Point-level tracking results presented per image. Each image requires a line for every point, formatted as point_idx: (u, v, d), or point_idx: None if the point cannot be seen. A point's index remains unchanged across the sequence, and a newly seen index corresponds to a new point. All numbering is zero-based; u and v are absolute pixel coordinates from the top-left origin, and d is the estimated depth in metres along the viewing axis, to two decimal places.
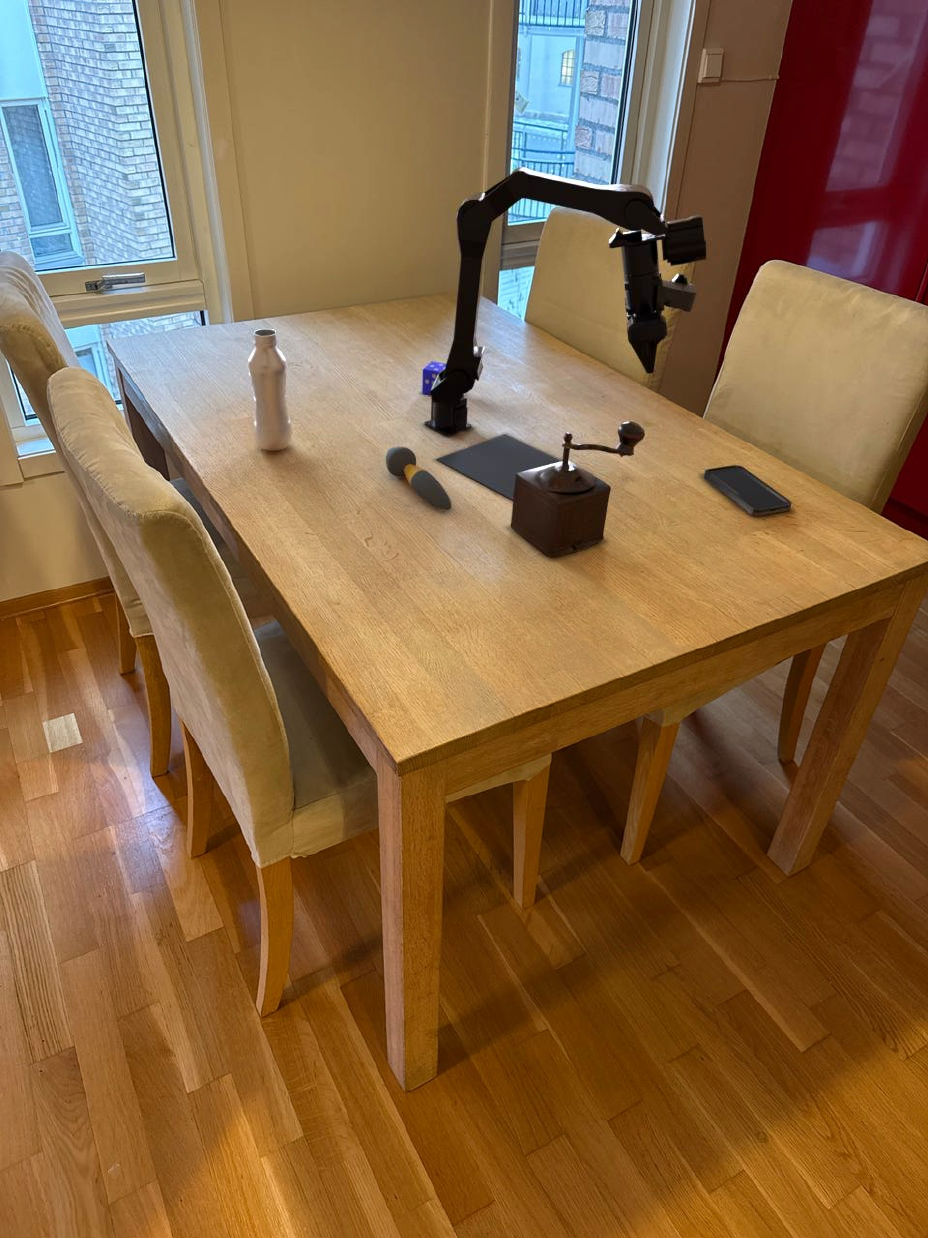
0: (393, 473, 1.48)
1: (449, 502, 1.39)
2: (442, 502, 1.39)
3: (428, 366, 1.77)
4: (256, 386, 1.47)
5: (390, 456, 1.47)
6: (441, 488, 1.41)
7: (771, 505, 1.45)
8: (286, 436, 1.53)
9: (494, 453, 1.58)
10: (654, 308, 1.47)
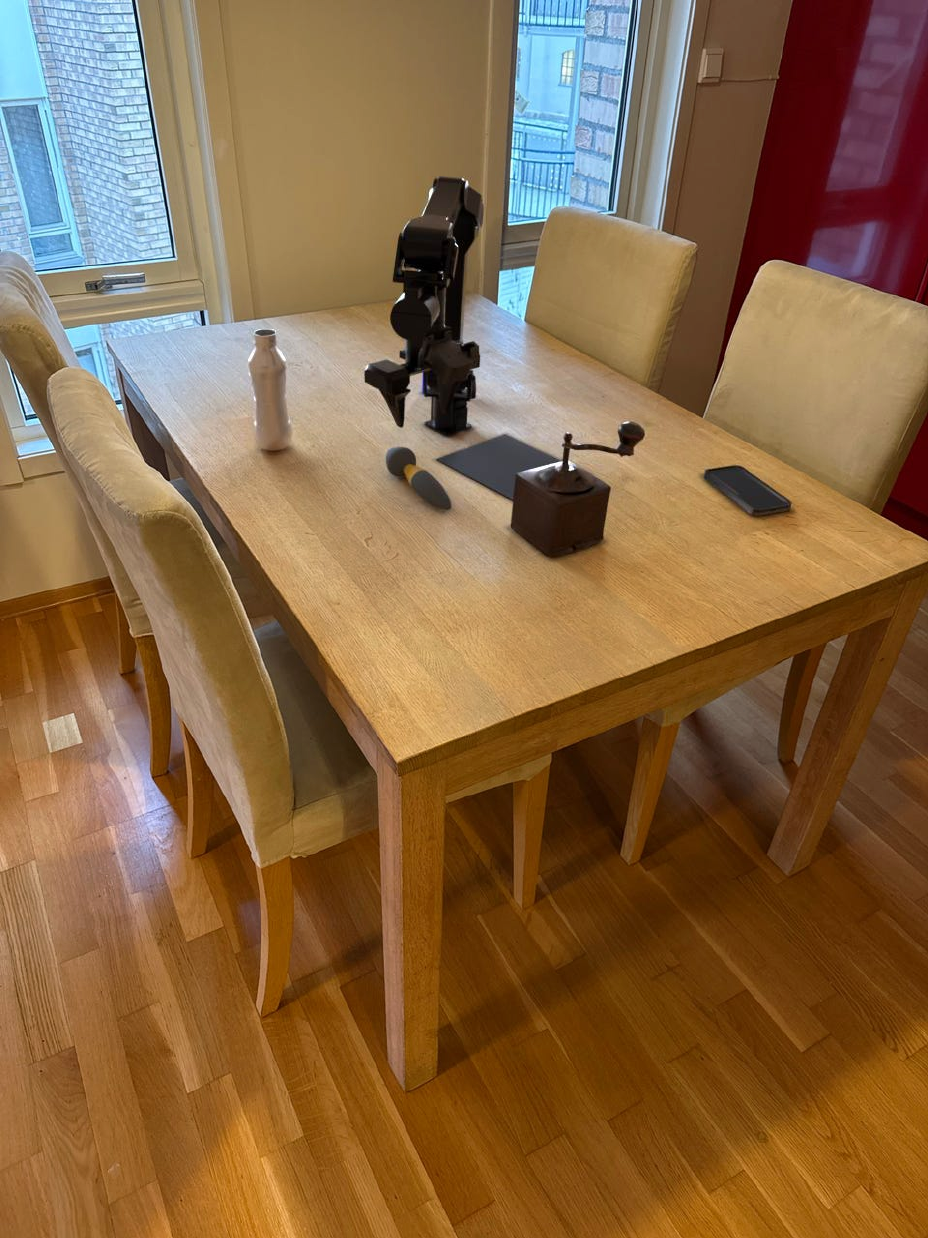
0: (393, 473, 1.48)
1: (449, 502, 1.39)
2: (442, 502, 1.39)
3: None
4: (256, 386, 1.47)
5: (390, 456, 1.47)
6: (441, 488, 1.41)
7: (771, 505, 1.45)
8: (286, 436, 1.53)
9: (494, 453, 1.58)
10: None
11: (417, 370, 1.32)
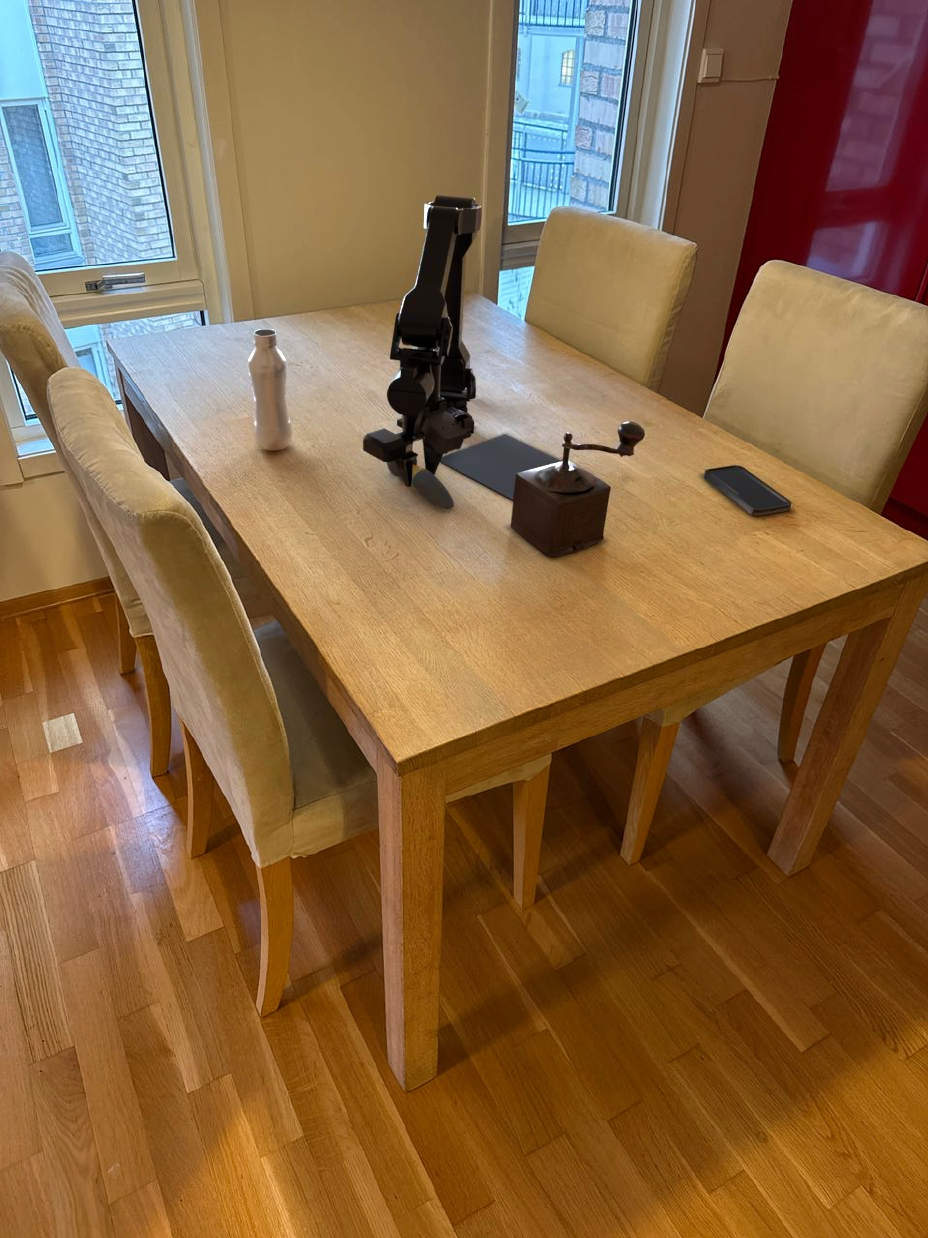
0: (394, 473, 1.48)
1: (451, 501, 1.39)
2: (444, 501, 1.39)
3: None
4: (256, 386, 1.47)
5: None
6: (443, 487, 1.41)
7: (771, 505, 1.45)
8: (286, 436, 1.53)
9: (494, 453, 1.58)
10: None
11: (413, 439, 1.39)
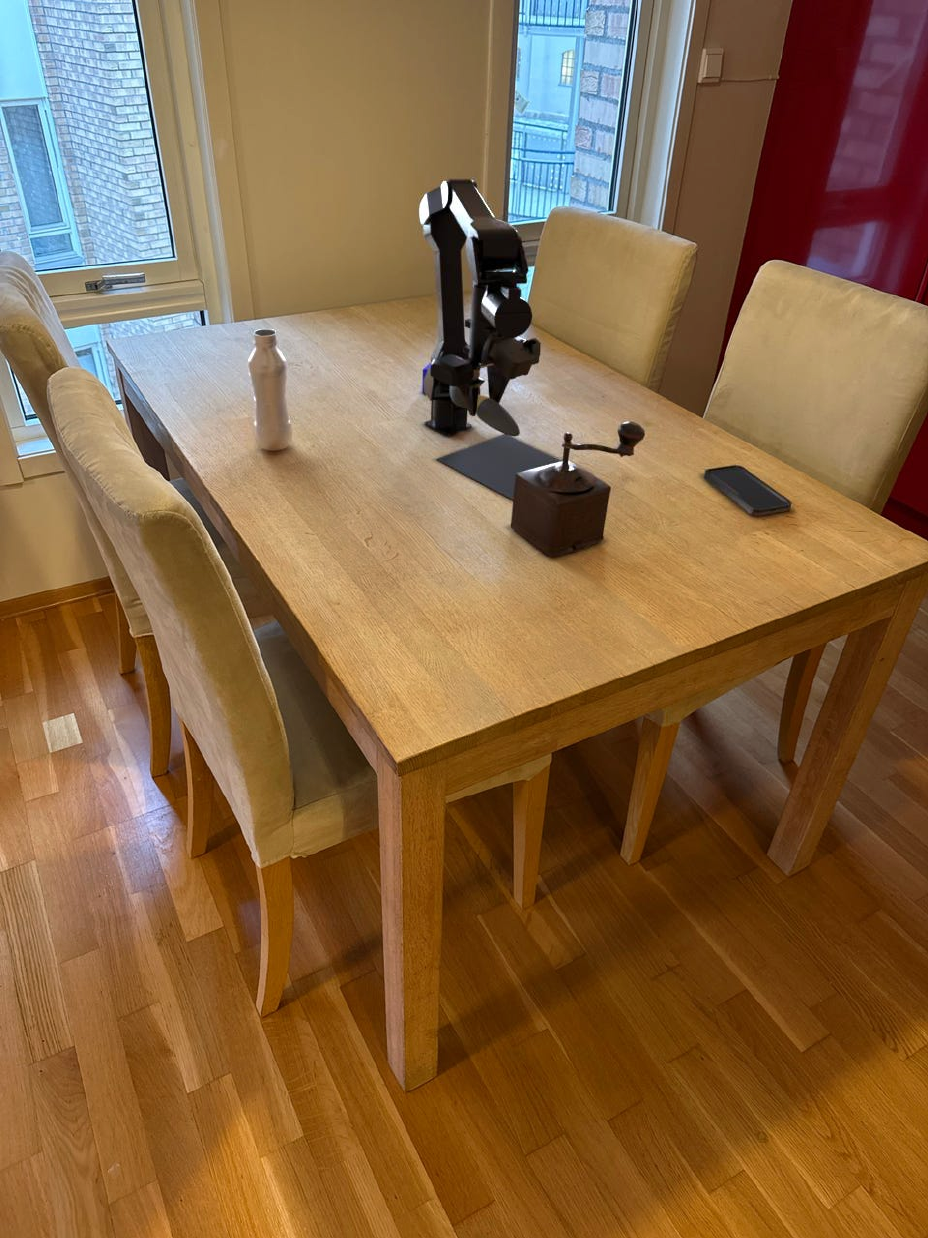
0: (458, 403, 1.48)
1: (518, 428, 1.39)
2: (510, 428, 1.39)
3: (428, 366, 1.77)
4: (256, 386, 1.47)
5: None
6: (509, 415, 1.41)
7: (771, 505, 1.45)
8: (286, 436, 1.53)
9: (494, 453, 1.58)
10: (482, 358, 1.38)
11: (480, 365, 1.38)
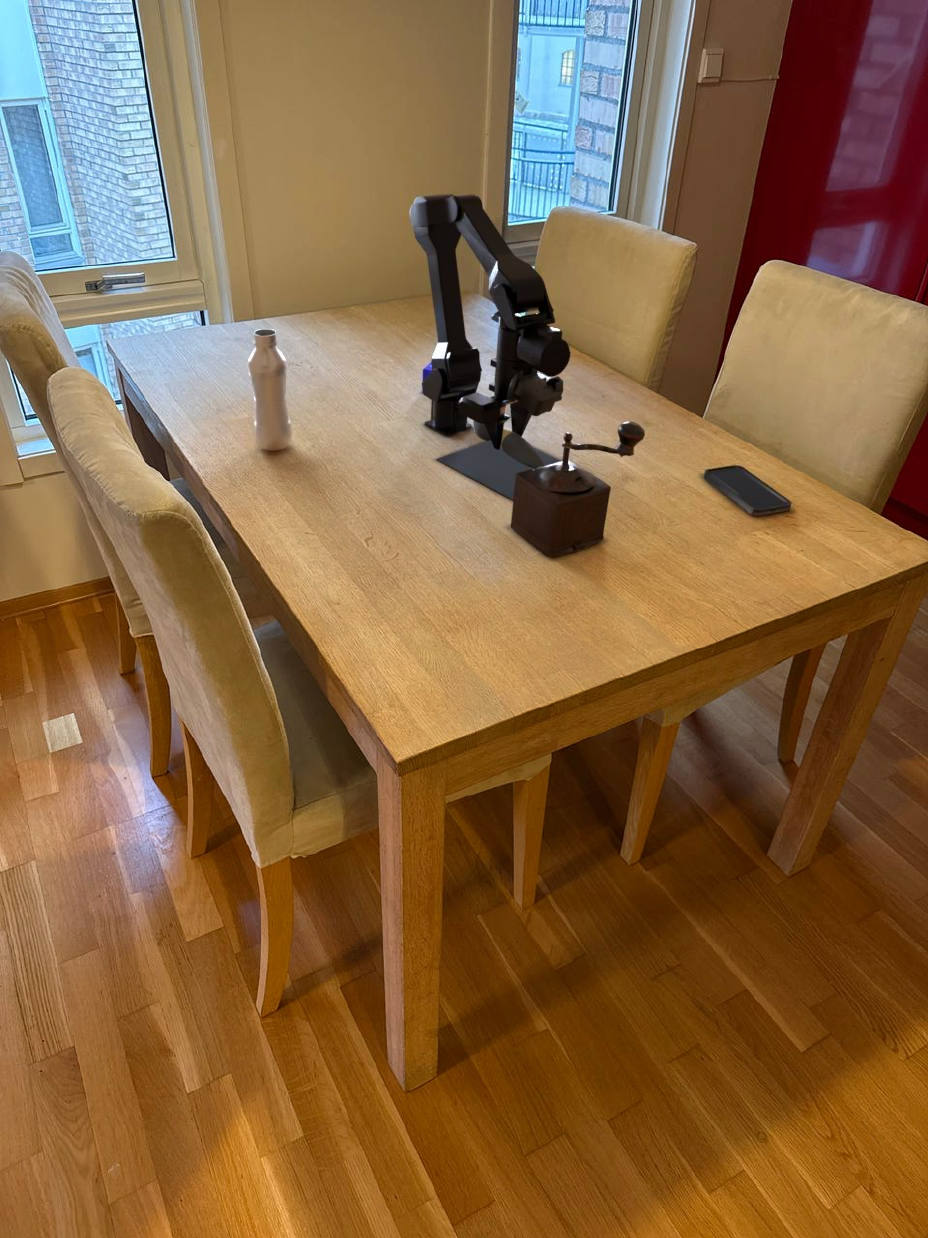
0: (482, 437, 1.54)
1: (542, 462, 1.46)
2: (535, 462, 1.46)
3: (428, 366, 1.77)
4: (256, 386, 1.47)
5: None
6: (533, 449, 1.47)
7: (771, 505, 1.45)
8: (286, 436, 1.53)
9: (494, 453, 1.58)
10: None
11: (506, 402, 1.45)
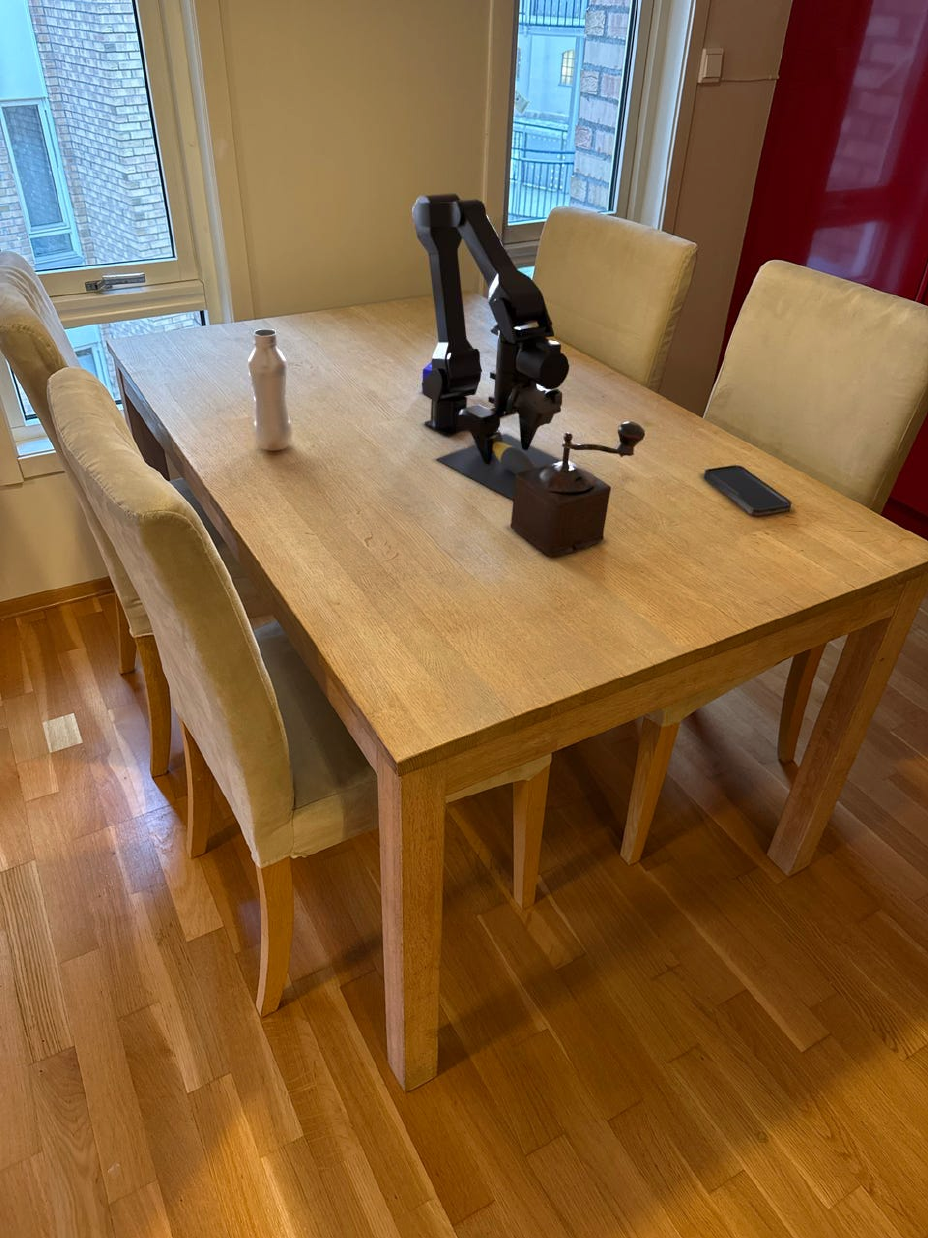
0: None
1: None
2: None
3: (428, 366, 1.77)
4: (256, 386, 1.47)
5: None
6: (532, 463, 1.49)
7: (771, 505, 1.45)
8: (286, 436, 1.53)
9: None
10: (507, 407, 1.45)
11: (505, 414, 1.46)
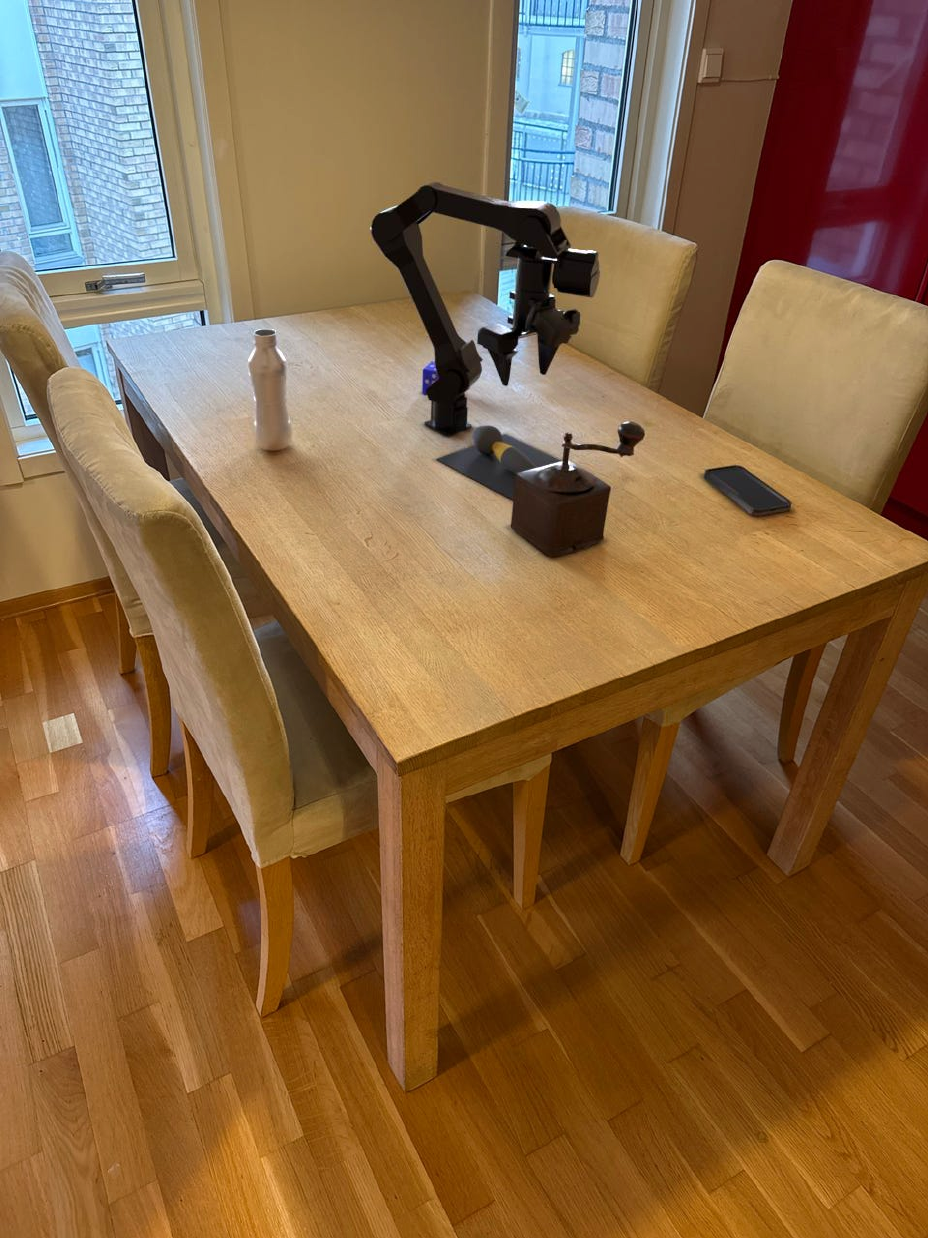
0: (481, 450, 1.56)
1: None
2: None
3: (428, 366, 1.77)
4: (256, 386, 1.47)
5: (478, 434, 1.55)
6: (532, 463, 1.49)
7: (771, 505, 1.45)
8: (286, 436, 1.53)
9: None
10: None
11: (523, 334, 1.49)
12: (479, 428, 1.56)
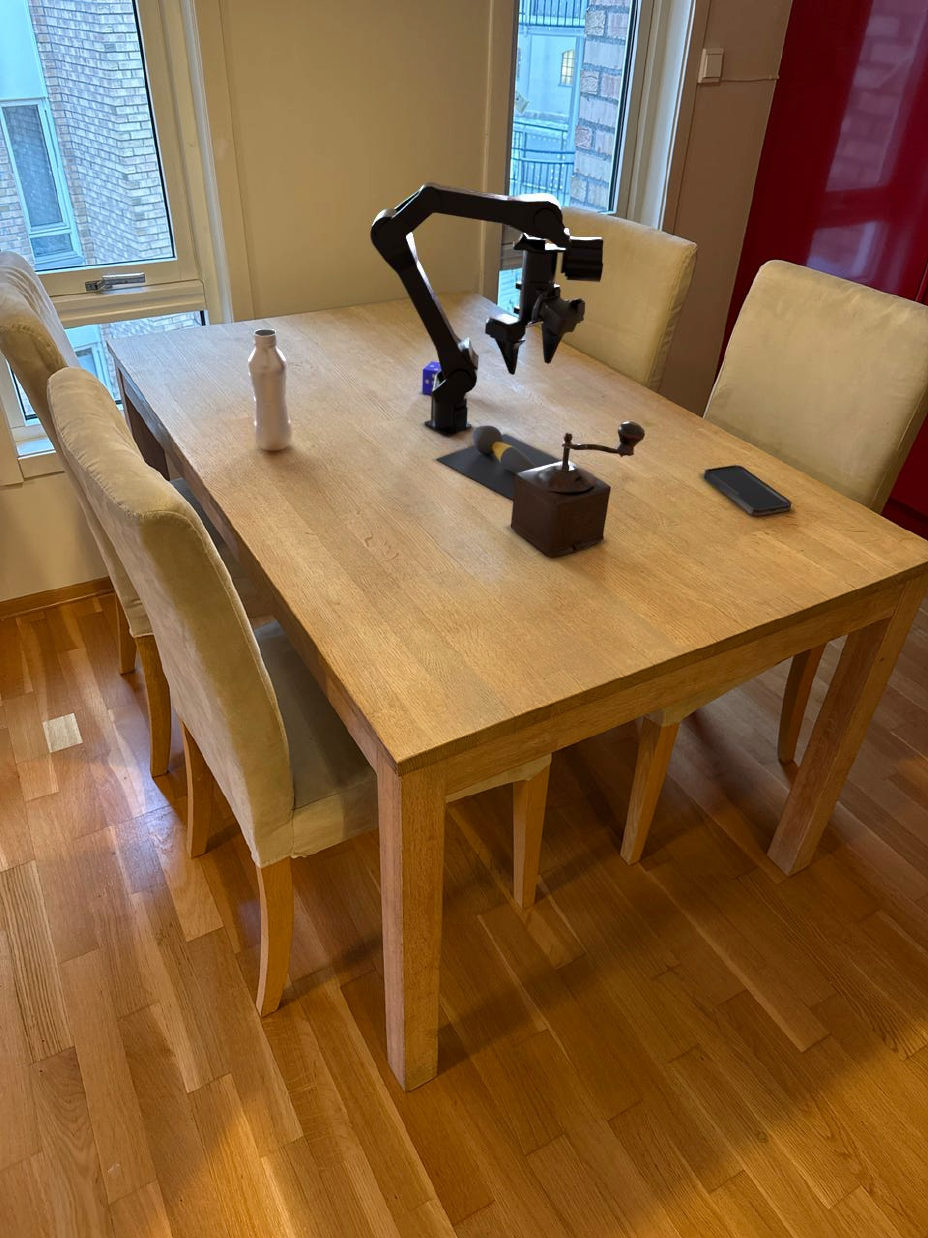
0: (481, 450, 1.56)
1: None
2: None
3: (428, 366, 1.77)
4: (256, 386, 1.47)
5: (478, 434, 1.55)
6: (532, 463, 1.49)
7: (771, 505, 1.45)
8: (286, 436, 1.53)
9: None
10: (532, 317, 1.52)
11: (530, 323, 1.52)
12: (479, 428, 1.56)
